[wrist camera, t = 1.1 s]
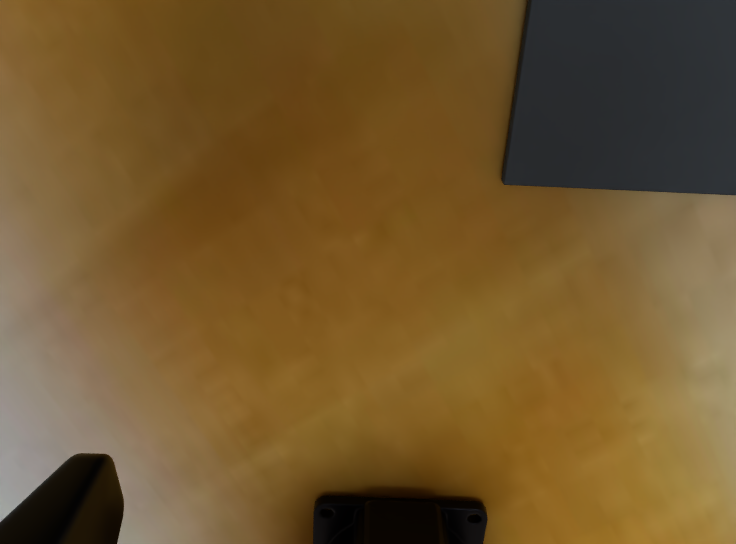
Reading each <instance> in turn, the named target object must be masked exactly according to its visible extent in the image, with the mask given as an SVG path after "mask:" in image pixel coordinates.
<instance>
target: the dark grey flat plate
mask: <svg viewBox="0 0 736 544" xmlns="http://www.w3.org/2000/svg"><path fill="white" fill-rule="evenodd" d="M502 182H503V184H504V185H523V186H544V187H566V188H588V189H610V190H632V191H654V192H676V193H698V194H720V195H736V0H528V5H527V11H526V18H525V25H524V32H523V38H522V45H521V52H520V58H519V65H518V72H517V78H516V85H515V92H514V99H513V105H512V112H511V119H510V125H509V132H508V139H507V146H506V152H505V159H504V166H503V172H502Z"/></svg>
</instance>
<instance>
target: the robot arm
mask: <svg viewBox="0 0 736 544" xmlns="http://www.w3.org/2000/svg"><path fill="white" fill-rule="evenodd" d="M326 509H330V510H326ZM123 512H124V499H123V494H122V491H121V487H120V483H119V480H118V476H117V472H116V468H115V465H114V462H113V459H112V458H111V457H110V456H109V455H107V454H90V453H81V454H76V455H74V456H72V457H70V458H69V459H68V460H67V461H66V462H65V463H64V464H62V465H61V466H60V467H59V468H58V469H57V470H56V471H55V472H54V473H53V474H52V475H51V476H50V477H48V478H47V479H46V480H45V481H44V482H43V483H42V484H41V485H40V486H39V487H38V488H37V489H36V490H34V491H33V492H32V493H31V494H30V495H29V496H28V497H27V498H26V499H25V500H24V501H23V502H22V503H20V504H19V505H18V506H17V507H16V508H15V509H14V510H13V511H12V512H11V513H10V514H9V515H7V516H6V517H5V518H4V519H3V520H2V521H1V522H0V544H117V542H118V537H119V533H120V528H121V523H122V519H123ZM471 514H476V515H471ZM486 524H487V512H486V507H485V506H484V505H483V504H482V503H480V502H477V501H460V500H433V499H406V498H379V497H353V496H322V497H320V498H318V499H317V500H316V501H315V504H314V527H313V544H483V541H484V535H485V530H486Z"/></svg>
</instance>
